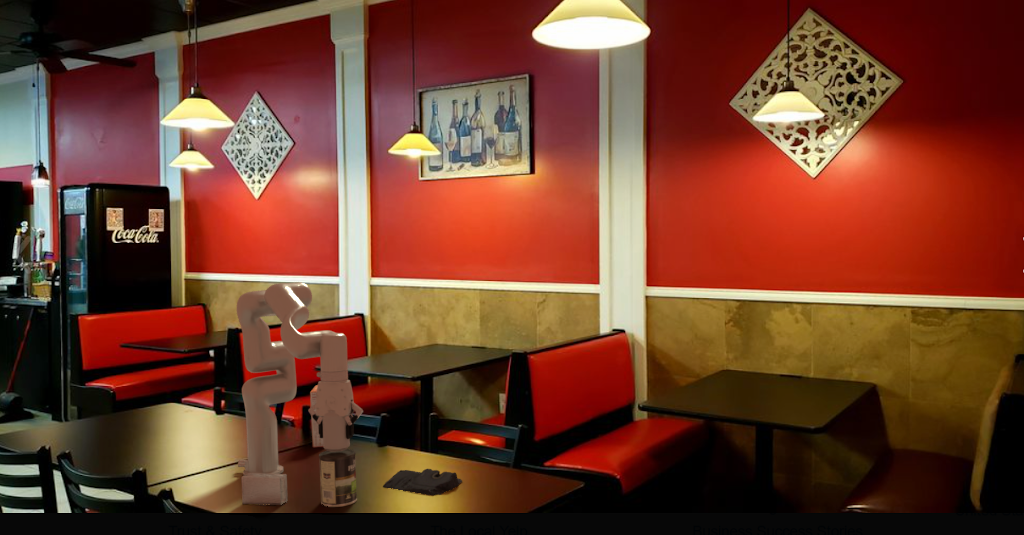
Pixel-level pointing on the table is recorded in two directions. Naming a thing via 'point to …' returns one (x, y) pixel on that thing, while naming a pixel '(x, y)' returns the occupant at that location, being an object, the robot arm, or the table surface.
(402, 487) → the dark slate chunk
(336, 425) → the can
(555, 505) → the table surface
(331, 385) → the robot arm
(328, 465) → the coffee can
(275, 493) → the pinkish brown box
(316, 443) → the cracker box
